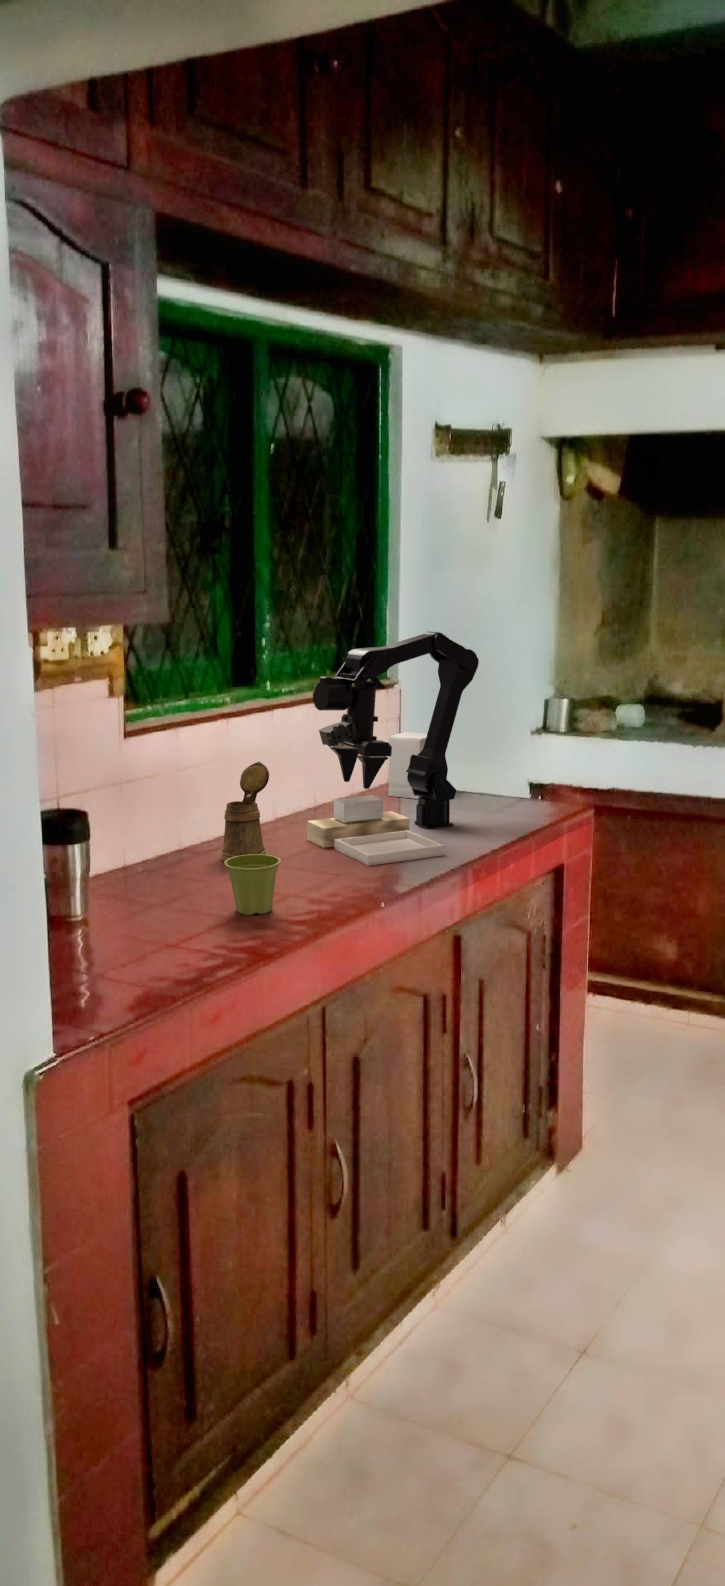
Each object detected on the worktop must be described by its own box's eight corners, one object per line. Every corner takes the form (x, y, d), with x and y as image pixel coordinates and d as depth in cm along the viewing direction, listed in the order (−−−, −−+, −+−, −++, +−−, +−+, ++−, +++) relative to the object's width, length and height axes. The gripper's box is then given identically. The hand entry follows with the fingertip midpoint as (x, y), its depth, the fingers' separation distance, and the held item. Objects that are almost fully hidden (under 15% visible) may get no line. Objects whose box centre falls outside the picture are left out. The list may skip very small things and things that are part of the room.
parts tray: (407, 839, 260) (407, 830, 260) (444, 855, 247) (444, 845, 247) (334, 848, 253) (334, 839, 252) (368, 865, 239) (368, 855, 239)
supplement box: (420, 800, 299) (420, 738, 296) (387, 796, 304) (387, 735, 301) (437, 793, 307) (437, 733, 304) (405, 790, 312) (405, 730, 309)
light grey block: (371, 813, 265) (371, 795, 264) (382, 818, 261) (382, 799, 260) (333, 818, 261) (333, 799, 260) (344, 822, 257) (344, 803, 256)
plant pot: (259, 921, 205) (258, 870, 203) (214, 913, 210) (213, 863, 208) (292, 907, 213) (291, 858, 211) (248, 899, 217) (247, 851, 216)
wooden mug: (282, 849, 252) (280, 762, 249) (255, 866, 240) (253, 774, 236) (241, 846, 255) (239, 760, 252) (213, 862, 243) (210, 771, 239)
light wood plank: (391, 829, 270) (391, 809, 269) (409, 836, 263) (409, 816, 262) (307, 839, 261) (306, 819, 260) (323, 847, 254) (323, 827, 253)
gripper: (306, 705, 261) (302, 778, 264) (345, 714, 245) (341, 793, 247) (354, 706, 266) (349, 778, 269) (395, 715, 250) (390, 792, 252)
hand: (356, 785), depth 259 cm, fingers open, 9 cm apart
